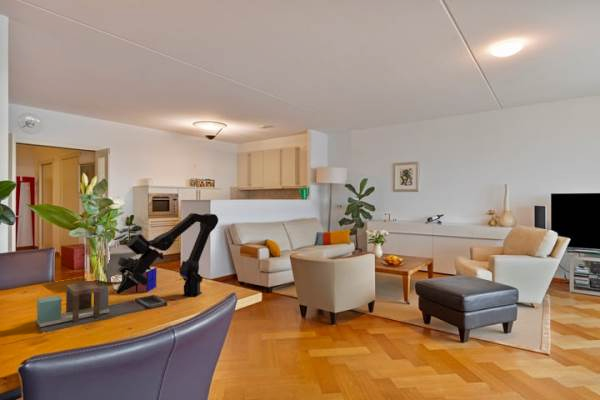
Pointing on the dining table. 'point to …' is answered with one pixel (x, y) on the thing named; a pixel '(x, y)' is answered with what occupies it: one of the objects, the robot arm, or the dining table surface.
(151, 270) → the puzzle cube
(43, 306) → the sled
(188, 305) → the dining table surface
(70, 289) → the tunnel
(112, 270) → the grey plant pot
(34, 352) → the dining table surface
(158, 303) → the tray
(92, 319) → the grey long flat panel
